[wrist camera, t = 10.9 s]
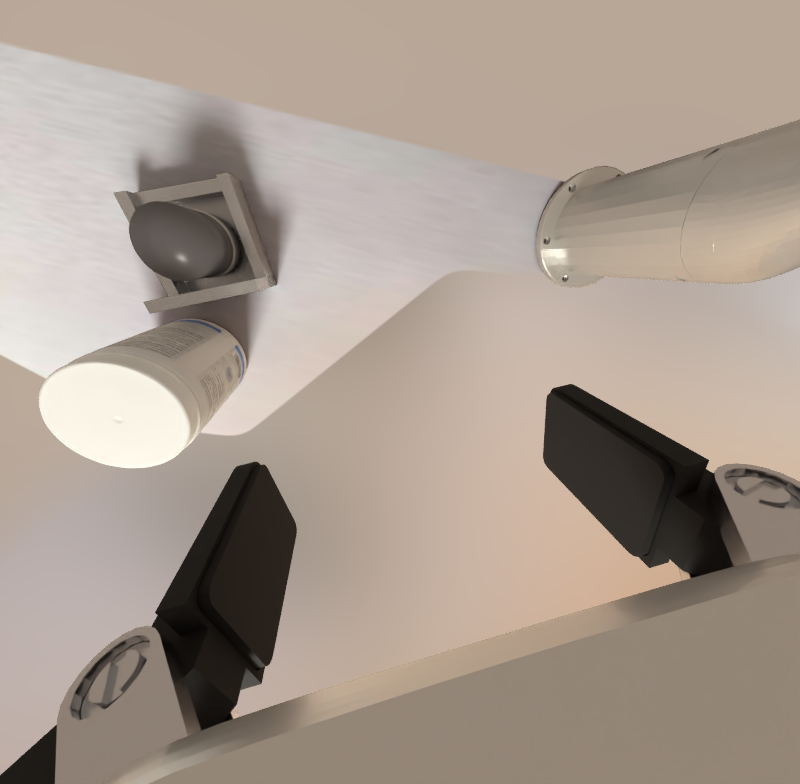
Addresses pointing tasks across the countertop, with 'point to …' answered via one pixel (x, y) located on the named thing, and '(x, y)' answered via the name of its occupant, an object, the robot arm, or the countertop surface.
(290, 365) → the countertop surface
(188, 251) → the grey rounded-end cylinder
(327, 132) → the countertop surface
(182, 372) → the supplement tub
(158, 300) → the open square box
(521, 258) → the countertop surface
